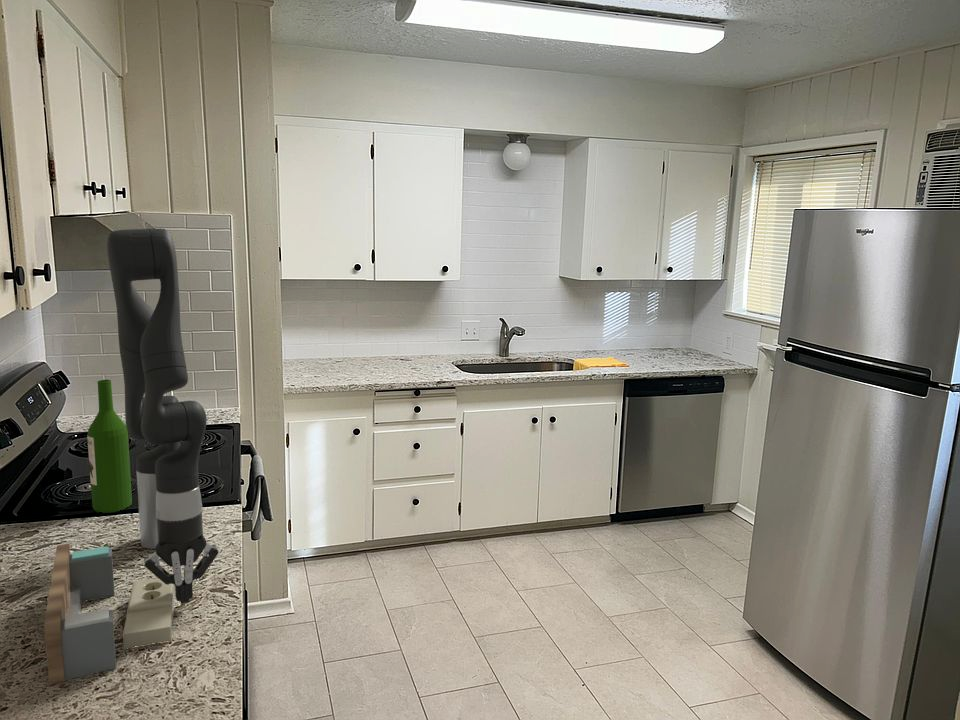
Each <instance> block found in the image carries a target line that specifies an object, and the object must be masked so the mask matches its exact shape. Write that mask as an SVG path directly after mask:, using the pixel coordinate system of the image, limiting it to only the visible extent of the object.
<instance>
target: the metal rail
mask: <svg viewBox="0 0 960 720" xmlns="http://www.w3.org/2000/svg"><path fill="white" fill-rule="evenodd" d="M80 612H82V602H81V591H80V584H79V585H73V586H71V588H70V598H69V607H68V616H71V615H76V614H80Z"/></svg>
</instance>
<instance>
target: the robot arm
mask: <svg viewBox="0 0 960 720" xmlns="http://www.w3.org/2000/svg"><path fill="white" fill-rule="evenodd" d="M106 250H107V251H106V252H107V259H108V266H109V271H110V276H111V282H112V287H113V292H114V299H115V300H114V301H115V306H116V316H117V317H116V319H117V335H118V347H119V355H120V359H121V367H122V375H123V382H124V413H125V416H124V417H125V425H126V427H127V431H128V436H129V437H130V438H131V439H133V440H141V441H142V440H145V441H146V442H148V443H149V444H151V445H153V446H155V447H154V448H151V449H149V450H147V451H144V452H142V453H140V454H139V455H138V456H137V457H136V458H135V471H136V472H135V474H136V486H137V487H136V489H137V503H138V505H137V506H138V521H139V534H140V545H141V547H143V548H144V549H145V548H146V549H150V550H155V551H154V552H153V553H152V554H151V555H150V556H146V557H144V560H143V562H144V566H145V568H146V569H147V570H148V571H149V572H151V573H152V574H153V575H154V576H155V577H156V578H159V579H160V580H161V581H162V582H164V583H165V584H167V585H168V584H174V585H175V599H176V601H177V602H180V605H181V604H187V603H190V599H191V600H192V599H193V597H194V593H193V592H194V591H193V590H194V589H193V582H194V581H195V580H196V579H201V578H202V577H203V576H204V574H205V573H206V571H208V569H209V568H210V566H211V565H212V563H213V562H214V560H215V559H216V558H217V556H218V554H219V550H218V547H217V545H215V544H210V543H208V542H207V539H206V538H205V537H204V529H203V528H204V526H203V503H202V494H201V490H200V481H199V480H200V479H199V460H200V453H201V449H202V445H203V441H204V436H205V432H206V428H207V421H208V420H207V413H206V410H205V408H204V407H203V406H202V404H201V403H199V402H198V401H196V400H185V401H179V400H178V398H177V397H176V396H175V395H165V394H168V393H170V392H174V391H177V390H181V389H182V388H184V387H185V386H186V385H187V384H188V383H189V374H188V369H187V362H186V357H185V352H184V346H183V339H182V330H181V329H182V328H181V305H180V304H181V303H180V302H181V301H180V287H179V285H180V284H179V271H178V259H177V253H176V245H175V243H174V240H173V236H172V235H171V233H170V232H169V230H168V229H165V228H154V227H153V228H134V229H133V228H131V229H117V230H113V231H111V232H110V233H109V234H108V237H107V243H106ZM148 280H159V282H160V291H159V297H158V301H157V304H155V305H156V306H155V308H152V307H151V306H150V305H149V304H148V303H147V302H146V301H145V300H144V299H143V298H142V297H141V294H139V293H138V290H137V289H136V288H135V285H133V283H132V282H134V281H135V282H136V281H148ZM202 552H203V553H202ZM201 554H203V556H202V557H201V559H200V560H199V562H198V563H197V565H196V566H195V567H194V563H195V562H196V561H198V558H199V557H200V555H201ZM160 559H161V560H162V561H163V562H164V563H165V564H166V565H167V566H169V567H170V568H171V569H172V573H170V572H169V571H167V570H166V569H165V568H164V567H162V566H161V565H160V563H161V562H160ZM181 566H183V577H182V569H181Z"/></svg>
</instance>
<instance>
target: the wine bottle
mask: <svg viewBox="0 0 960 720" xmlns="http://www.w3.org/2000/svg"><path fill="white" fill-rule="evenodd" d="M112 389H113V388H112V380H111V379H100V380H98V381H97V393H98V395H97V396H98V397H97V398H98V411H97V414H96V416H95V418H94V419H93V420H92V422H91V424H90V426H89V428H88V429H87V449H88V451H87V452H88V453H87V454H88V464H89V465H88V466H89V477H90V491H91V492H90V493H91V506H92V510H93V509H94V510H95V511H98V512H97V513H99V512H102V513H101V514H111V513H116V512H117V511H118V512H120V510H122V511H123V509H125V508H127V507H129V506H130V505H131V506H132V504H133V495H132V493H133V491H132V480H131V477H132V475H131V465H130V464H131V461H130V445H129V444H130V443H129V434H128V431H127V427H126V423H124V421H123V420H122V418H120V417H119V415H118V414H117V412H116V411H115V409H114V402H113V401H114V400H113V399H114V398H113V391H112ZM131 506H130V507H131ZM130 507H129V508H130ZM127 509H128V508H127ZM94 510H93V511H94ZM125 510H126V509H125ZM95 511H94V512H95Z"/></svg>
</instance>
